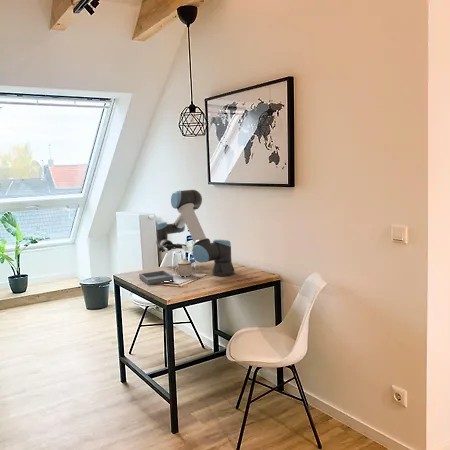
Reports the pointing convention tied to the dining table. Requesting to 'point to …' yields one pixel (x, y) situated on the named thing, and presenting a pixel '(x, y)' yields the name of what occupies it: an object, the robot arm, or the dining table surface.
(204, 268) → the dining table surface
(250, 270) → the dining table surface
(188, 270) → the teacup with lid
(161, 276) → the grey tray
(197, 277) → the dining table surface
